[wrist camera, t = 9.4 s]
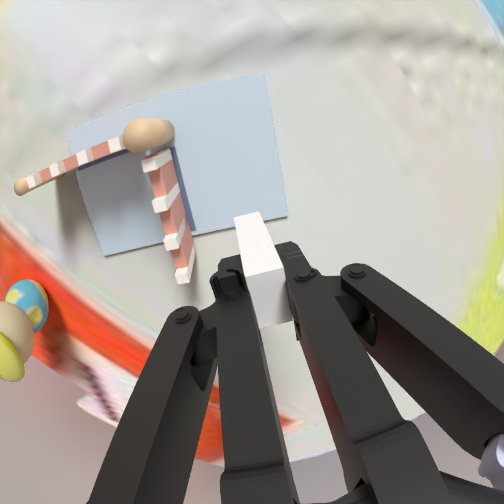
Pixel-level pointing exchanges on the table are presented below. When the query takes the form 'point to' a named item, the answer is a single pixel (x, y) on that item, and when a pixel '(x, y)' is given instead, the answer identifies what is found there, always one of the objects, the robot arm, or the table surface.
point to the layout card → (185, 163)
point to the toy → (20, 326)
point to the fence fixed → (104, 151)
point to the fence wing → (171, 212)
